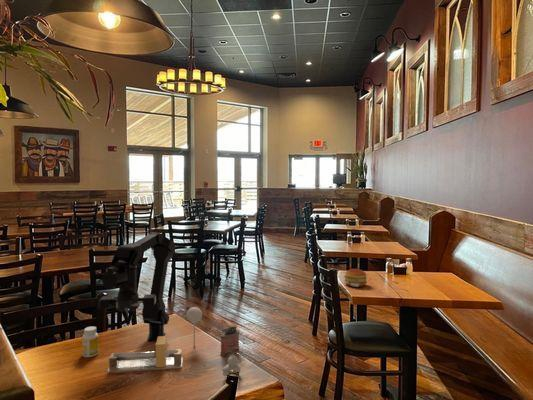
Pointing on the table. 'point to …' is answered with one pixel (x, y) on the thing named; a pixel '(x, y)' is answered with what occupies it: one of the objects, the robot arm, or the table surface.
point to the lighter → (229, 341)
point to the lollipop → (194, 317)
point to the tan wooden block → (161, 351)
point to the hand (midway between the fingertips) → (128, 324)
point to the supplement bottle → (90, 342)
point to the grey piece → (143, 361)
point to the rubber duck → (231, 365)
